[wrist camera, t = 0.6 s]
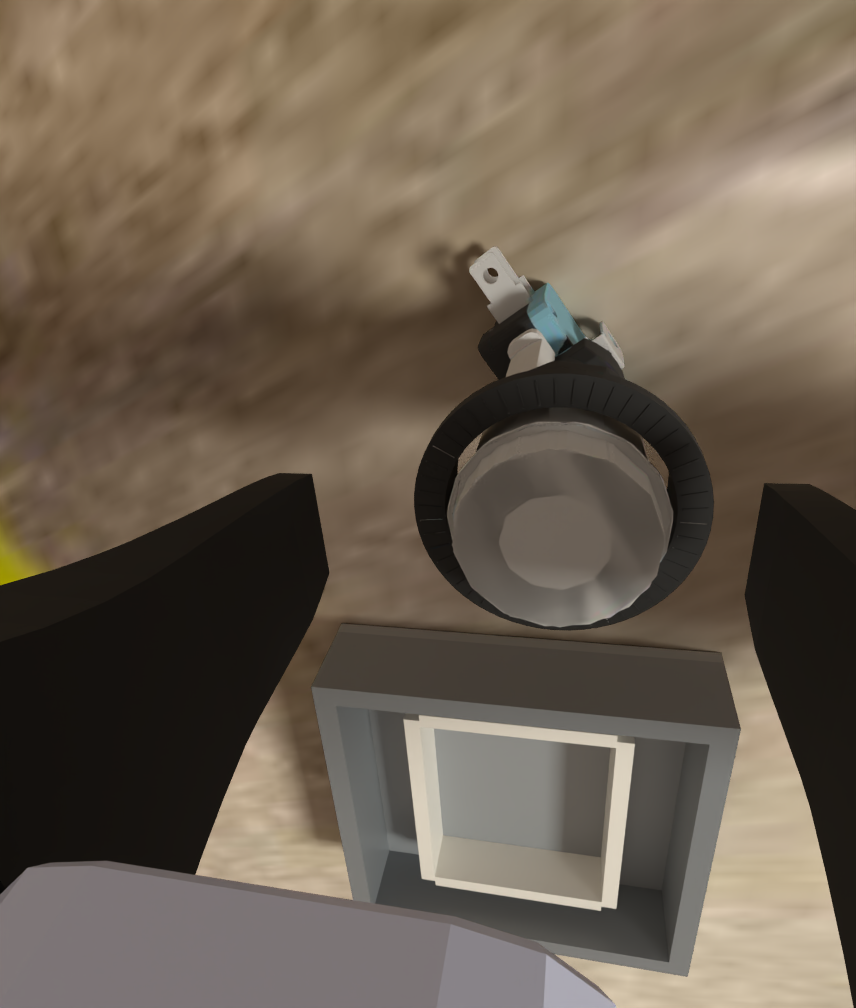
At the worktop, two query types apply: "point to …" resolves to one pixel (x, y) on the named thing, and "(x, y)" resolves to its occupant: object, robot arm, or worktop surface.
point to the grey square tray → (534, 776)
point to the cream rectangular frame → (510, 864)
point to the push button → (559, 474)
